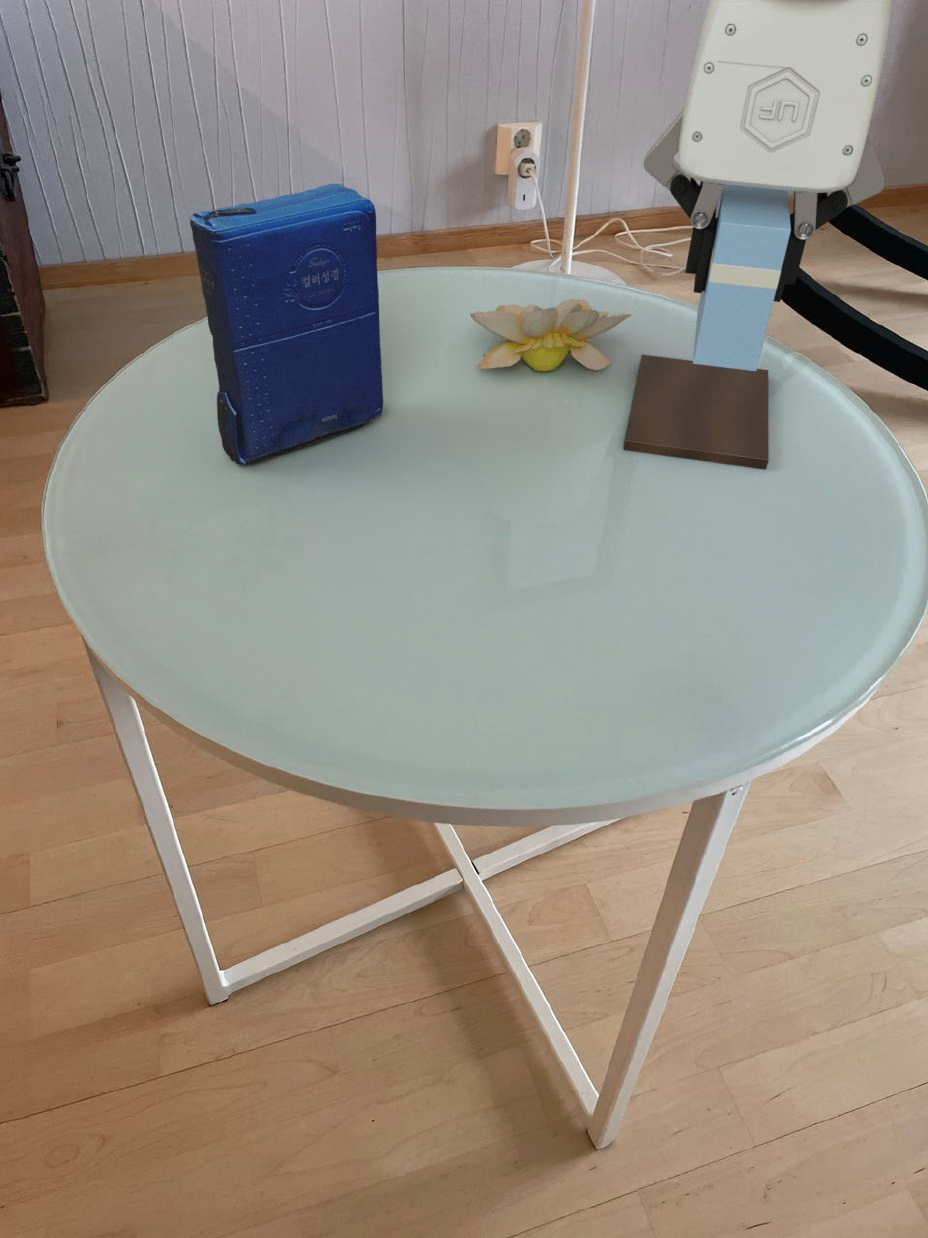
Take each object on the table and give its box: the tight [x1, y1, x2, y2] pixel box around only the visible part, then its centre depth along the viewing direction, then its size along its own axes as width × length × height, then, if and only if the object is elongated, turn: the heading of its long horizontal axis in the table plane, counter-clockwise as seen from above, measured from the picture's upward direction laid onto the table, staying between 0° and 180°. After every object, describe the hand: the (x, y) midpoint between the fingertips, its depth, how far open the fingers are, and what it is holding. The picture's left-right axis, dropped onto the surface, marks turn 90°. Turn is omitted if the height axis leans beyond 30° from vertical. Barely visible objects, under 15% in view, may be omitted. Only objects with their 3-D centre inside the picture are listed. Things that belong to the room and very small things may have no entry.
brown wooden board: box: [623, 354, 770, 470], centre depth 90 cm, size 12×16×1 cm
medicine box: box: [692, 184, 791, 371], centre depth 63 cm, size 4×8×9 cm, turn 168°
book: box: [189, 183, 384, 466], centre depth 79 cm, size 14×5×20 cm, turn 126°
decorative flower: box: [469, 298, 632, 373], centre depth 94 cm, size 15×11×10 cm
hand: (737, 285), depth 64 cm, fingers closed on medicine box, 4 cm apart
